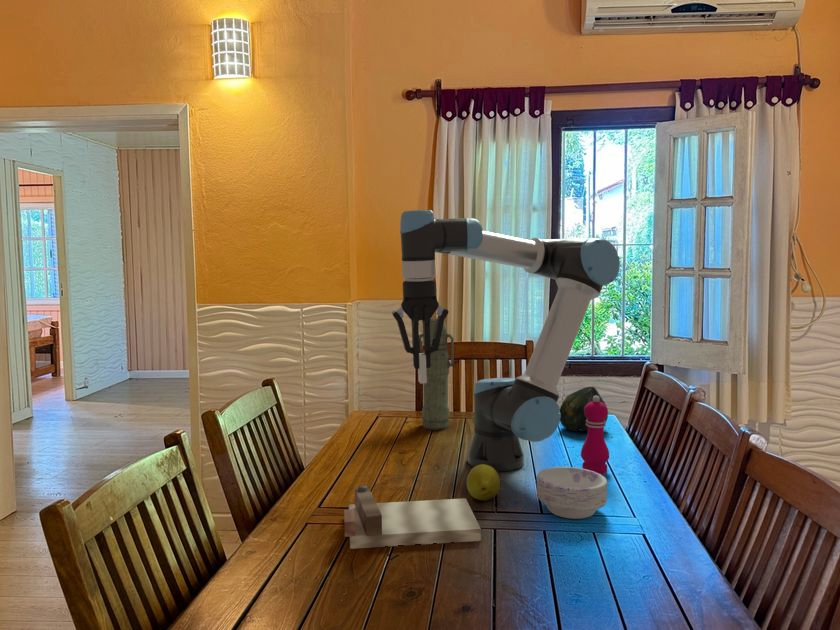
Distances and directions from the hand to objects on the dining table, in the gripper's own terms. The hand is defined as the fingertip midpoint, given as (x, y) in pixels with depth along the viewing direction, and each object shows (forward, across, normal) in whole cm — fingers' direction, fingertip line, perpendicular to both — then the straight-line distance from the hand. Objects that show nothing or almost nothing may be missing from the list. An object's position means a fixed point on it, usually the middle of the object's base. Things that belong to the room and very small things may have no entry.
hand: (422, 382), depth 151 cm
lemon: (+28, -13, +4) cm, 31 cm away
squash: (+30, -59, -47) cm, 81 cm away
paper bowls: (+29, -30, +13) cm, 44 cm away
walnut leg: (+24, +15, +17) cm, 33 cm away
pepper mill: (+29, -46, -10) cm, 56 cm away
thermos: (+29, -13, -60) cm, 67 cm away
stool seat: (+27, +6, +16) cm, 32 cm away
